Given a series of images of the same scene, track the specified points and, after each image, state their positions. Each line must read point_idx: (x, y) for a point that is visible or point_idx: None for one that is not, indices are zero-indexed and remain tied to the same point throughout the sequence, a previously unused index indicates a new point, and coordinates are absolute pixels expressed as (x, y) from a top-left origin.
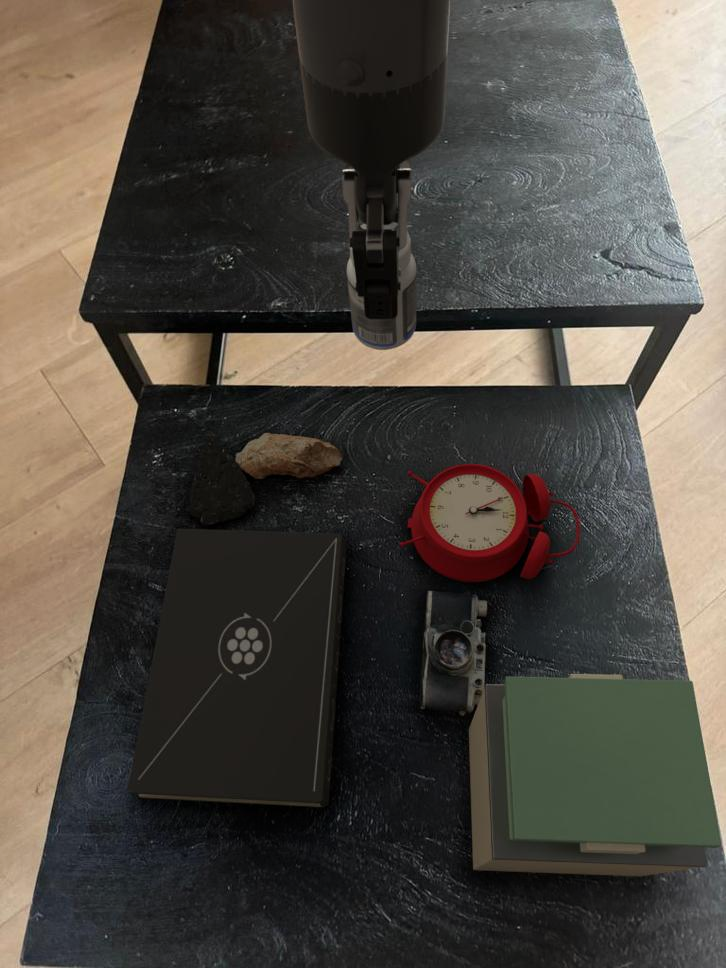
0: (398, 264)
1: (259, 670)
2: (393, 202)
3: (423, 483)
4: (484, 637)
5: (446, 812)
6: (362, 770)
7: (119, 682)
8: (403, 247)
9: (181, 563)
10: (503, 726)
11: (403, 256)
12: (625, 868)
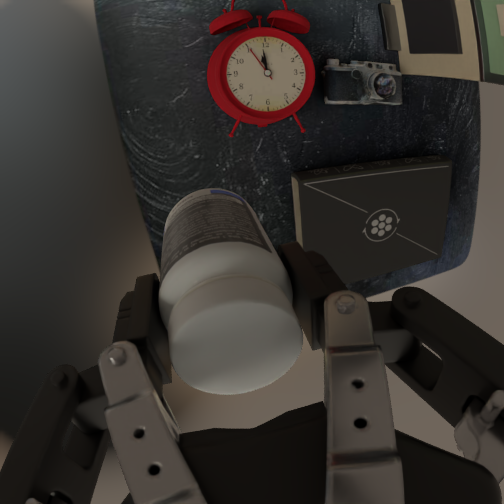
0: (352, 318)
1: (395, 212)
2: (495, 481)
3: (239, 120)
4: (357, 61)
5: (437, 89)
6: (423, 137)
7: (381, 279)
8: (377, 345)
9: None
10: (499, 74)
11: (273, 302)
12: None
